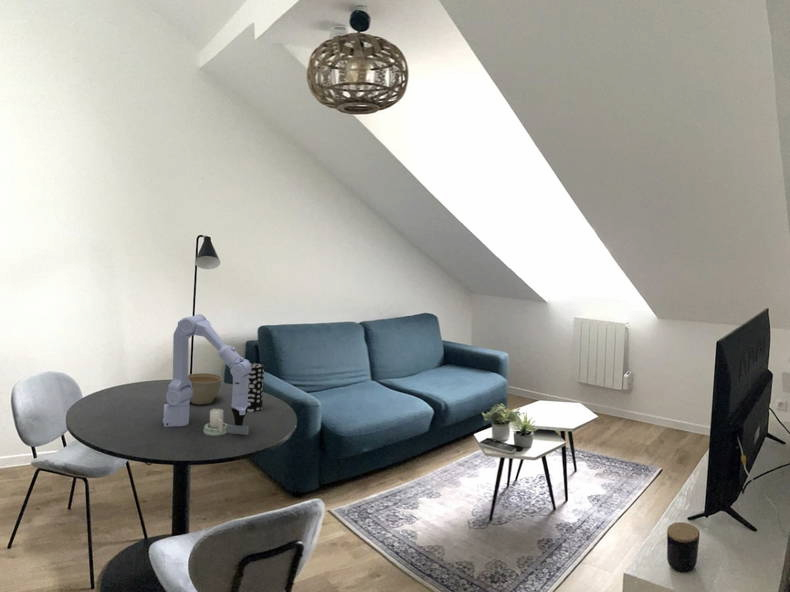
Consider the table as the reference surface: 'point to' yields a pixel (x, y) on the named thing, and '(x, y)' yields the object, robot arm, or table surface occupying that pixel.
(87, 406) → the table surface
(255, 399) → the spotted tube
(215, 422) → the cream round-ended cylinder
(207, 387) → the planter bowl
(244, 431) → the turntable
